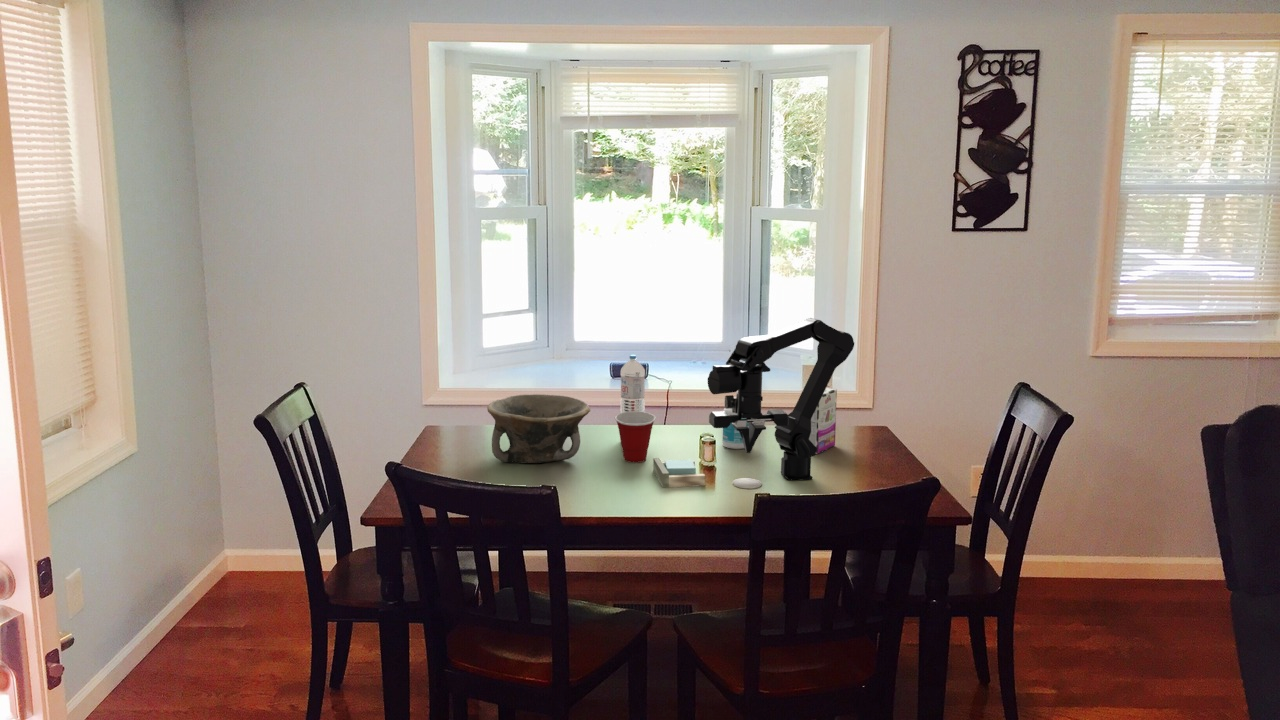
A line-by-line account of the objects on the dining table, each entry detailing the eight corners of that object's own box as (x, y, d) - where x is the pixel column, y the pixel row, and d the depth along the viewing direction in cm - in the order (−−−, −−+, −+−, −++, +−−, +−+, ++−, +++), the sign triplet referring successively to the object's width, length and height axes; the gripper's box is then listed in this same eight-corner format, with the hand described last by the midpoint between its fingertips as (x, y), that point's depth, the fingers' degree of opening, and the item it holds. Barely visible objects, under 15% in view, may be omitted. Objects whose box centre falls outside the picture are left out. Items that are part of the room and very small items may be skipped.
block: (692, 474, 247) (692, 459, 247) (695, 483, 240) (695, 468, 240) (664, 475, 247) (664, 460, 246) (666, 484, 240) (667, 468, 239)
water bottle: (644, 445, 272) (645, 357, 267) (619, 445, 272) (620, 357, 267) (644, 438, 279) (645, 353, 274) (620, 438, 279) (621, 352, 274)
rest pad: (756, 479, 244) (756, 477, 243) (764, 487, 237) (764, 486, 237) (729, 480, 242) (729, 478, 242) (736, 489, 236) (737, 487, 236)
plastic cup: (614, 466, 253) (615, 421, 251) (614, 454, 264) (614, 411, 262) (656, 465, 254) (657, 421, 251) (654, 453, 264) (654, 410, 262)
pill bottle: (736, 451, 267) (737, 403, 265) (716, 445, 273) (717, 398, 270) (754, 446, 272) (756, 399, 270) (735, 440, 278) (736, 394, 275)
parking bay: (693, 469, 251) (693, 456, 250) (704, 485, 238) (705, 471, 238) (653, 471, 249) (653, 458, 248) (662, 487, 237) (662, 473, 236)
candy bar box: (819, 443, 276) (821, 386, 273) (835, 446, 273) (838, 389, 270) (800, 451, 267) (802, 393, 264) (817, 455, 264) (819, 396, 261)
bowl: (609, 455, 263) (609, 401, 260) (547, 480, 241) (546, 421, 239) (532, 439, 278) (531, 388, 275) (467, 461, 256) (466, 406, 253)
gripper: (776, 382, 244) (774, 442, 247) (704, 384, 241) (703, 445, 244) (791, 392, 234) (788, 454, 237) (715, 394, 230) (713, 458, 234)
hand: (748, 452), depth 238 cm, fingers closed
